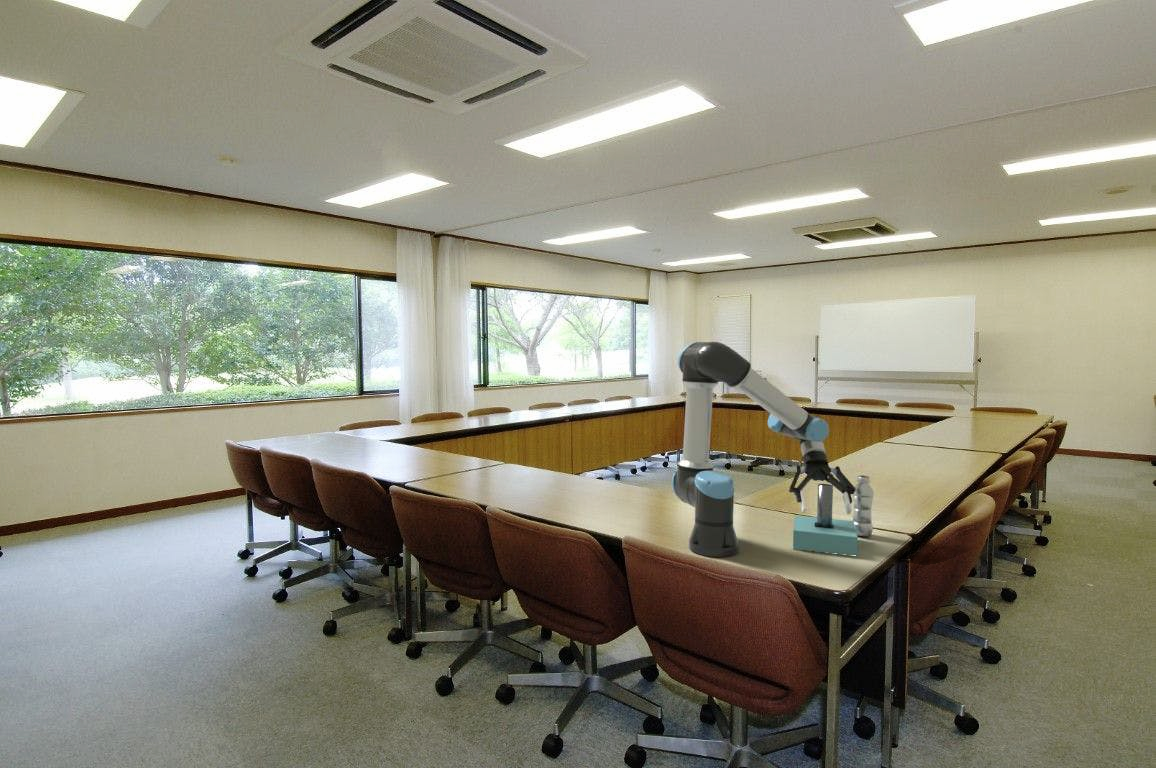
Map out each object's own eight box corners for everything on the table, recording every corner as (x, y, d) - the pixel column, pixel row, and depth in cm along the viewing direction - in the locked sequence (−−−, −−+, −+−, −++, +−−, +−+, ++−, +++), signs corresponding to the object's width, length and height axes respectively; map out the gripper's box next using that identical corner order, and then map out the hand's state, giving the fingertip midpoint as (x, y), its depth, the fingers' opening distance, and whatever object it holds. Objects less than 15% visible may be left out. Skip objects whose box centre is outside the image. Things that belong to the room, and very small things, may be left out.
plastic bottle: (848, 535, 192) (849, 476, 191) (855, 531, 197) (857, 473, 196) (868, 540, 187) (870, 479, 186) (875, 535, 192) (877, 476, 191)
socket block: (793, 549, 179) (793, 530, 178) (794, 532, 195) (794, 515, 195) (857, 556, 172) (857, 537, 171) (852, 538, 188) (853, 520, 188)
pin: (816, 542, 182) (818, 486, 181) (816, 538, 186) (817, 483, 185) (831, 543, 181) (833, 487, 180) (831, 539, 185) (832, 484, 184)
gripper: (849, 462, 196) (865, 518, 182) (774, 461, 199) (783, 516, 185) (855, 450, 190) (872, 506, 176) (778, 448, 193) (787, 504, 179)
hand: (826, 511), depth 181 cm, fingers open, 13 cm apart
